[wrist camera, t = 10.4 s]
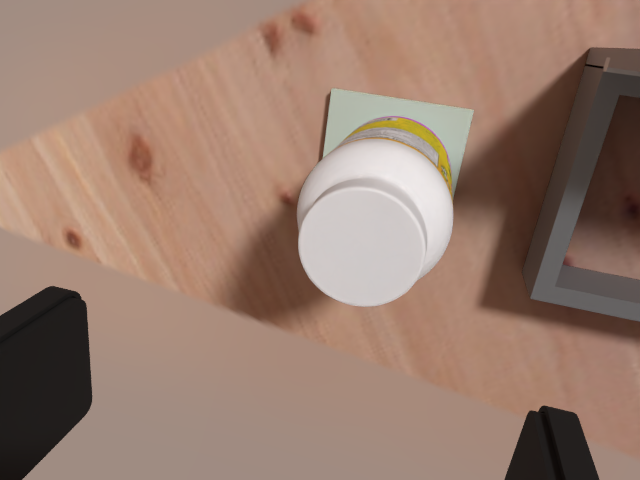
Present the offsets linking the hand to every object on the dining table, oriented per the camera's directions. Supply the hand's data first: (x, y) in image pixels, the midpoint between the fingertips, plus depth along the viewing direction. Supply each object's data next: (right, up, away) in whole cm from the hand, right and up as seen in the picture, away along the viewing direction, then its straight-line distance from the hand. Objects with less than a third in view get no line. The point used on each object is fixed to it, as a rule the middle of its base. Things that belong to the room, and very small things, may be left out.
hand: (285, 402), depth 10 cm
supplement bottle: (+5, +7, +20) cm, 22 cm away
